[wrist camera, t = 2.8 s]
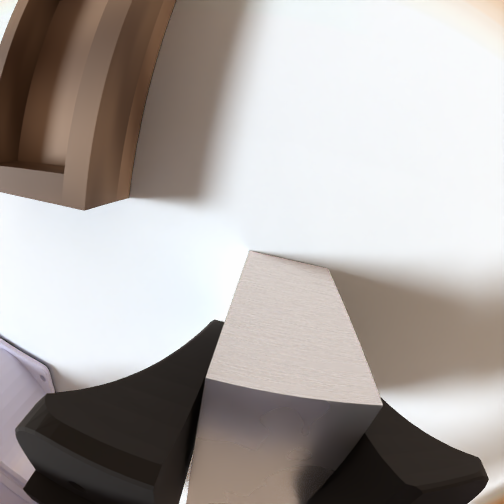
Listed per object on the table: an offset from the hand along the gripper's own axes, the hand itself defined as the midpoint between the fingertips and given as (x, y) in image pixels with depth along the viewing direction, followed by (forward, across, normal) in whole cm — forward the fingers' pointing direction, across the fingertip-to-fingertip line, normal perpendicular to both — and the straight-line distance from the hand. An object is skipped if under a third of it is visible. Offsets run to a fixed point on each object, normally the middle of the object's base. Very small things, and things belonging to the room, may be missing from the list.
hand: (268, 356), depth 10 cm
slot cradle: (+2, +10, -9) cm, 14 cm away
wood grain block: (+2, 0, 0) cm, 2 cm away
